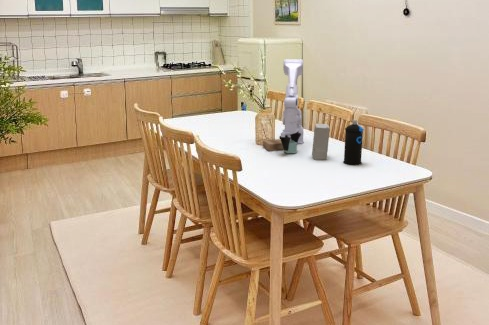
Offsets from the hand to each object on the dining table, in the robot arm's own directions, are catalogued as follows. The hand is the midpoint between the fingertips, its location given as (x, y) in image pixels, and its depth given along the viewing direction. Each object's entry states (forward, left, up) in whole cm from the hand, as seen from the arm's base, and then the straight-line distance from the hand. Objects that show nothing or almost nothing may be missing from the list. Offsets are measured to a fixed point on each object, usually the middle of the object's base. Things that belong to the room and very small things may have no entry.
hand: (290, 148), depth 258 cm
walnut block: (+5, -10, -2) cm, 11 cm away
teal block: (0, 0, -1) cm, 1 cm away
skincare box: (-11, +12, -2) cm, 16 cm away
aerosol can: (-22, +24, -2) cm, 33 cm away
